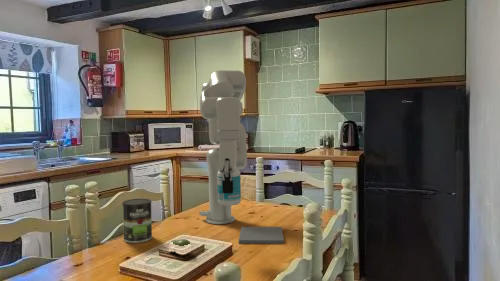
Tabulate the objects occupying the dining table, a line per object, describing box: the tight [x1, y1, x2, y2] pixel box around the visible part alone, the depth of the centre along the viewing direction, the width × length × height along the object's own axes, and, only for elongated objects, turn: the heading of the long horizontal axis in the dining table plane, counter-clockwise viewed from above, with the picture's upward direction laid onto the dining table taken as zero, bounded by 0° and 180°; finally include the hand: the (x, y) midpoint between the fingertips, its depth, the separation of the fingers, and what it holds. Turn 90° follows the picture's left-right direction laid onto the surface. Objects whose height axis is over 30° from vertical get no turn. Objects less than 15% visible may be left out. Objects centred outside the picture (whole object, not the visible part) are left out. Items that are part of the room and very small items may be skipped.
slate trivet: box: [238, 226, 285, 245], centre depth 139 cm, size 16×16×1 cm
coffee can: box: [122, 198, 153, 244], centre depth 138 cm, size 10×10×14 cm
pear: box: [170, 238, 191, 246], centre depth 123 cm, size 6×5×10 cm
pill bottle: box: [217, 162, 242, 207], centre depth 120 cm, size 8×7×14 cm
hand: (229, 189), depth 120 cm, fingers closed on pill bottle, 7 cm apart
